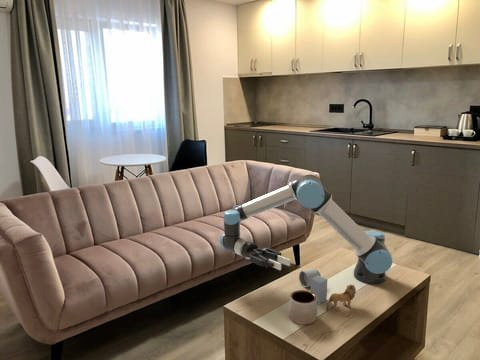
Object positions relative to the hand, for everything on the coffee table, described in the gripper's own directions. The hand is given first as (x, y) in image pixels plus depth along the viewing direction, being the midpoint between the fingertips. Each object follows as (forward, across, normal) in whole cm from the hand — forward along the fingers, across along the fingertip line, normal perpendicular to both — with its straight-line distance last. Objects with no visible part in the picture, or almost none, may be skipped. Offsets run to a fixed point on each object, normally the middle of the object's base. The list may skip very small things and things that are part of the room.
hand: (285, 264), depth 162 cm
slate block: (+6, -16, -20) cm, 26 cm away
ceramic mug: (-7, -24, -20) cm, 33 cm away
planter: (+10, 0, -20) cm, 23 cm away
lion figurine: (+16, -18, -20) cm, 32 cm away
